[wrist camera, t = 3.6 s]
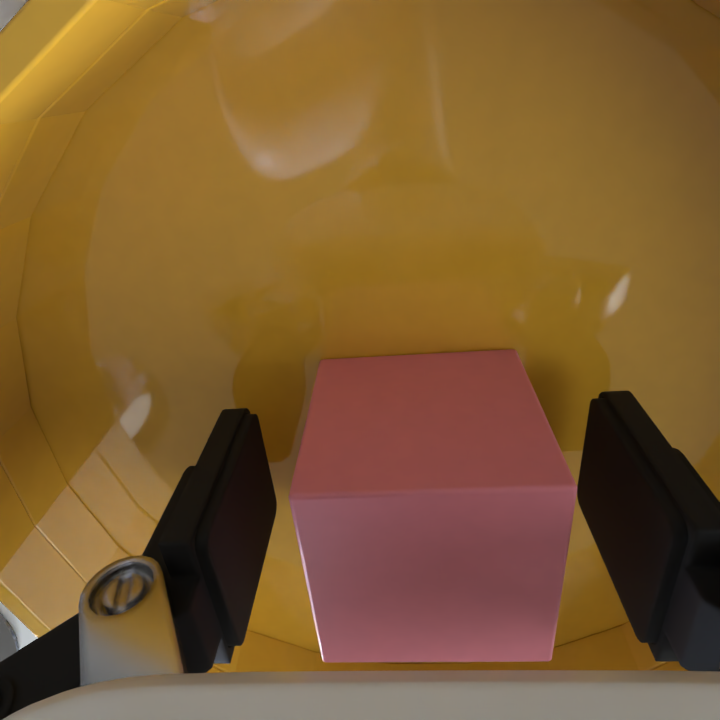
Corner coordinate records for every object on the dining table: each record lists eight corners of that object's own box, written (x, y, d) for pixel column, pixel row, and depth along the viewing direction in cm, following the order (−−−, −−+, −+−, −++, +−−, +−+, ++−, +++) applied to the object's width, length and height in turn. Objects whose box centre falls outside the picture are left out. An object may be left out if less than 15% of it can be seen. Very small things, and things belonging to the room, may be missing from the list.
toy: (339, 501, 14) (321, 664, 10) (319, 358, 12) (286, 496, 8) (507, 496, 14) (553, 663, 10) (516, 347, 12) (580, 486, 8)
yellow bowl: (148, 658, 19) (102, 772, 16) (-171, -19, 9) (-446, -60, 6) (734, 655, 17) (808, 781, 14) (1092, -177, 8) (1566, -339, 5)
